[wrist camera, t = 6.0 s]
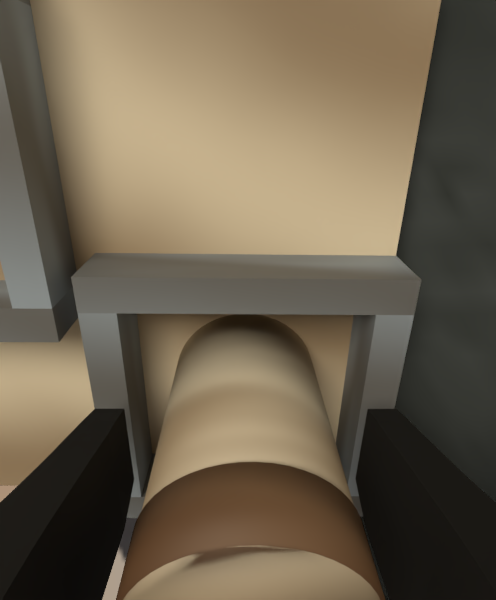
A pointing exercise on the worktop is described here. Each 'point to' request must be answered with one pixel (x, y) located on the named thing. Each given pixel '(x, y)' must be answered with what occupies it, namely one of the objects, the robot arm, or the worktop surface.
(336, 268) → the socket board
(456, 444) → the worktop surface
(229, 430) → the sleeve band up
